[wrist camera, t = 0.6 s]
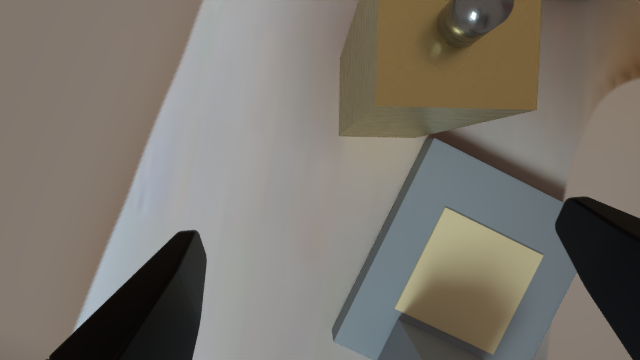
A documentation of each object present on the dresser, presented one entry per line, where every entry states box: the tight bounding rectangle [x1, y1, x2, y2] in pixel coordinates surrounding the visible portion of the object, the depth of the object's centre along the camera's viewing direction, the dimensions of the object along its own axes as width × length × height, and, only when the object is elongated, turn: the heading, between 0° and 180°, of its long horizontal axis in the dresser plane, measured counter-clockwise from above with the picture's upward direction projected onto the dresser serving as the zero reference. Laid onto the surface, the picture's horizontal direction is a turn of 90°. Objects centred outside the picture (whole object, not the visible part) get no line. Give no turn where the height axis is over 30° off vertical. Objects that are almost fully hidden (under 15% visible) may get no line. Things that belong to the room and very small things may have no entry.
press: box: [332, 138, 577, 360], centre depth 19 cm, size 14×12×8 cm
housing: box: [339, 0, 542, 138], centre depth 16 cm, size 5×5×14 cm
